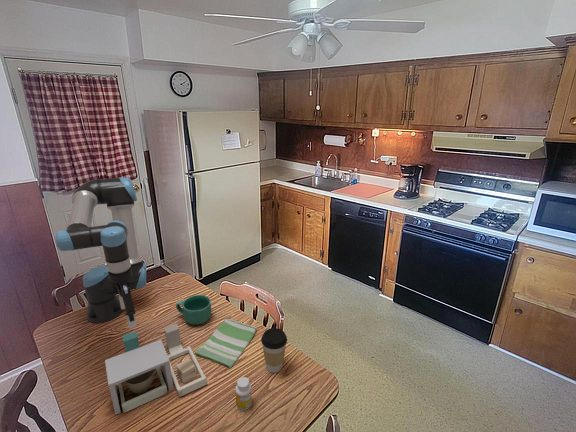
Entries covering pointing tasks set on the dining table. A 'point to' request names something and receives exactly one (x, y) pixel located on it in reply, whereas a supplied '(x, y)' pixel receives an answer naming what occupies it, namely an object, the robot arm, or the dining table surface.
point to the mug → (195, 309)
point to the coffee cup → (274, 348)
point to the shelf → (136, 367)
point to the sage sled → (131, 344)
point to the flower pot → (141, 382)
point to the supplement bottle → (243, 393)
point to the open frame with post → (176, 351)
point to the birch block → (186, 370)
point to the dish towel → (227, 342)
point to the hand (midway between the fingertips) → (128, 317)
